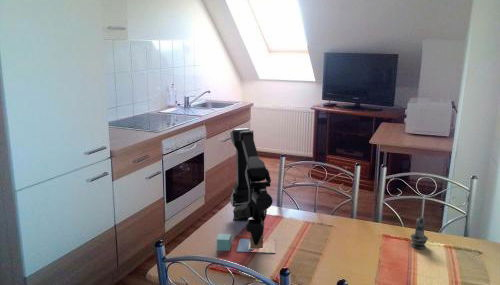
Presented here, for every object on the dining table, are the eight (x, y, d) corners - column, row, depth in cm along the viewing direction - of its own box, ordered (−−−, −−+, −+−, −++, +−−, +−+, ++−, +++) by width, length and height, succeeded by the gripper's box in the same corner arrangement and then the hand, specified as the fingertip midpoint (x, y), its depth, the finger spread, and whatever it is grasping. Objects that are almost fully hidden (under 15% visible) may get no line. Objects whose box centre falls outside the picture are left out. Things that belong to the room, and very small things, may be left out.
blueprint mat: (240, 239, 159) (240, 238, 159) (276, 240, 158) (276, 239, 158) (236, 252, 150) (236, 251, 149) (275, 253, 148) (275, 252, 148)
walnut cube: (251, 242, 156) (251, 231, 155) (263, 242, 155) (263, 231, 154) (250, 248, 152) (250, 236, 151) (262, 248, 151) (262, 237, 150)
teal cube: (219, 244, 155) (219, 233, 154) (231, 245, 155) (231, 234, 154) (217, 250, 151) (216, 239, 150) (229, 251, 151) (229, 239, 149)
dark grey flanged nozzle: (426, 243, 154) (429, 213, 151) (427, 251, 149) (430, 220, 146) (409, 241, 156) (412, 211, 153) (410, 248, 150) (412, 218, 148)
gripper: (237, 189, 159) (238, 227, 163) (230, 208, 141) (231, 250, 145) (266, 190, 158) (267, 227, 162) (263, 209, 140) (263, 251, 143)
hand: (257, 238), depth 153 cm, fingers open, 9 cm apart
